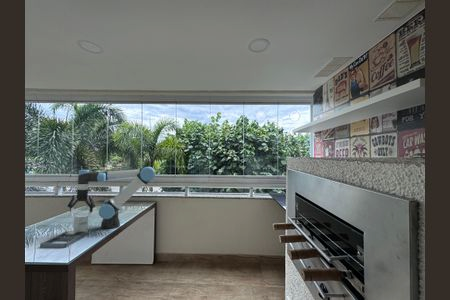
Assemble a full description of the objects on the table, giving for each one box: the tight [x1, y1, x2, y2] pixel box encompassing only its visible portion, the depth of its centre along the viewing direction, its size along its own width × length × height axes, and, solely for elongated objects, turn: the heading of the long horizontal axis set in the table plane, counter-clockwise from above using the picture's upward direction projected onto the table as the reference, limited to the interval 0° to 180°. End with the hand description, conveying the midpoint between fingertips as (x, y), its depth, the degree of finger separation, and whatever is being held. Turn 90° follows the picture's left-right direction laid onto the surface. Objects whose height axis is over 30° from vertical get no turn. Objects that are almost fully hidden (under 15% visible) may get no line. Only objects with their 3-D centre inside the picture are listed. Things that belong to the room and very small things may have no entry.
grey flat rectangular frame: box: [39, 230, 89, 249], centre depth 165 cm, size 27×16×2 cm, turn 3°
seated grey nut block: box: [64, 230, 79, 237], centre depth 171 cm, size 6×6×4 cm
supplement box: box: [72, 214, 89, 232], centre depth 185 cm, size 7×7×13 cm
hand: (80, 216), depth 185 cm, fingers open, 13 cm apart
